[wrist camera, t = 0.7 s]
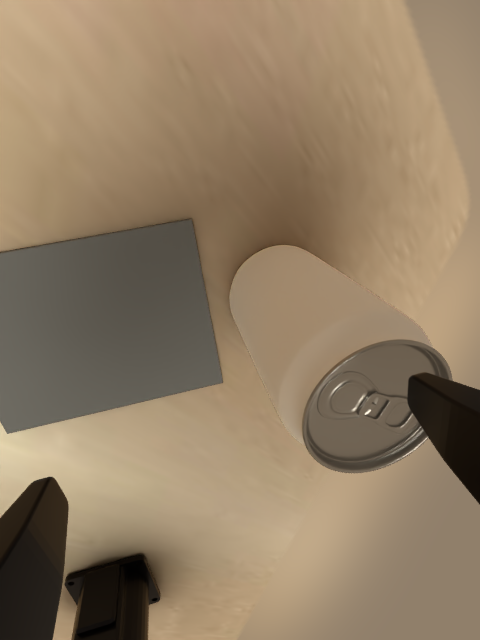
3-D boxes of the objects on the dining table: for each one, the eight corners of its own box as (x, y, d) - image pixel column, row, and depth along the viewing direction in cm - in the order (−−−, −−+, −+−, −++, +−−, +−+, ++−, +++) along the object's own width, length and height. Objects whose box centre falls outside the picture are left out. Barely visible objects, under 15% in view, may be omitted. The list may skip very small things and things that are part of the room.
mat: (222, 379, 25) (223, 382, 25) (9, 429, 23) (7, 433, 23) (191, 218, 20) (191, 219, 20) (-81, 266, 18) (-86, 268, 18)
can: (255, 225, 21) (356, 299, 10) (342, 266, 23) (499, 362, 13) (210, 320, 23) (257, 465, 12) (295, 349, 25) (396, 494, 14)
